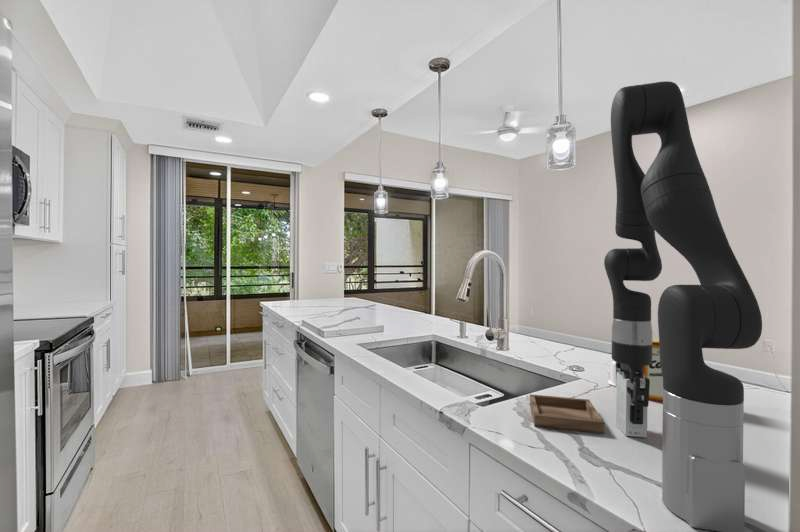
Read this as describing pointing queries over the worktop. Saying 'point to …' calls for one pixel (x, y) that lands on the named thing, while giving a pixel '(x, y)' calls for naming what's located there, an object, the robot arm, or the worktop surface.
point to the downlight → (612, 373)
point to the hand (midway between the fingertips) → (631, 417)
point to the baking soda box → (655, 373)
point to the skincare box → (628, 410)
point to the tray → (565, 414)
